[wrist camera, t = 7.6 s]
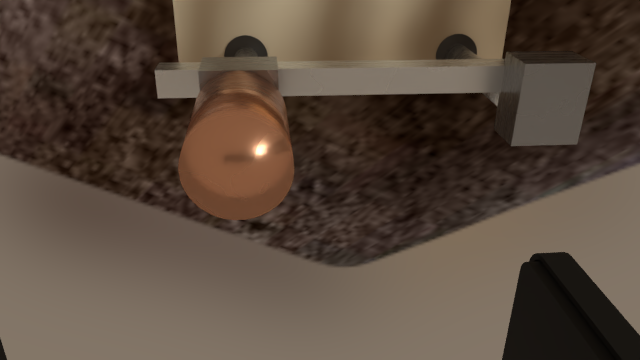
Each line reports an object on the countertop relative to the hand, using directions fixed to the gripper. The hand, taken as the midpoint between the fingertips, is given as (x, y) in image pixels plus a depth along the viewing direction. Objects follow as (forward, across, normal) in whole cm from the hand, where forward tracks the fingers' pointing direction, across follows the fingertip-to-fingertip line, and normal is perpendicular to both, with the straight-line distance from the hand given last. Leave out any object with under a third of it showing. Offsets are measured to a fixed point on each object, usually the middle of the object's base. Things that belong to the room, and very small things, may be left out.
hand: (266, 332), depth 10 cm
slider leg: (+26, +1, +1) cm, 26 cm away
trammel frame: (+26, -5, +1) cm, 27 cm away
